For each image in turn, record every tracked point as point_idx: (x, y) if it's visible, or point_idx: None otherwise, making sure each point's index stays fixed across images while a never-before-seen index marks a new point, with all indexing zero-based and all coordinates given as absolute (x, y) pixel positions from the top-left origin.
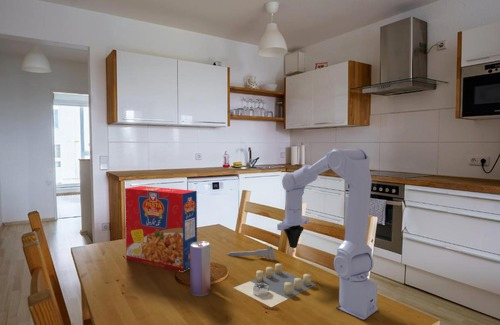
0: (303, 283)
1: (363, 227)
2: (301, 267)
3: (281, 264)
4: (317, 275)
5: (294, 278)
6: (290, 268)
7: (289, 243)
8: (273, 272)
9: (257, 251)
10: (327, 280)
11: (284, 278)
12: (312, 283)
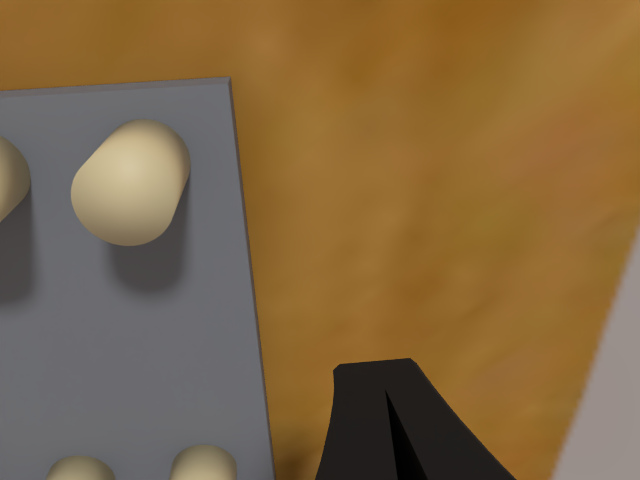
0: (170, 472)
1: None
2: (550, 135)
3: (164, 218)
4: (479, 354)
5: (204, 343)
6: (434, 73)
7: (332, 417)
8: (109, 102)
9: None
10: None
11: (117, 290)
12: (260, 475)
